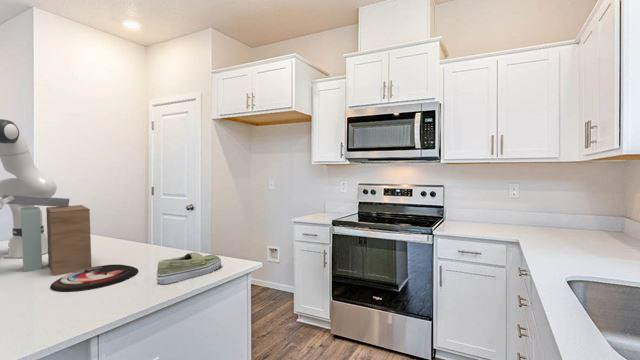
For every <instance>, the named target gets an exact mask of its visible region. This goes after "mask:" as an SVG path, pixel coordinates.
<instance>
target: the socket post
mask: <svg viewBox="0 0 640 360" xmlns="http://www.w3.org/2000/svg"><path fill="white" fill-rule="evenodd" d="M40 210H41V207H40V206H35V207H30V208H21V224H22V248H23V257H22V268H23V272H24V273H27V272H28V273H29V272H32V271H38V270H39V271H40V270H43V254H42V245H41V220H40Z"/></svg>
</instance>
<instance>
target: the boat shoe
mask: <svg viewBox="0 0 640 360" xmlns="http://www.w3.org/2000/svg"><path fill="white" fill-rule="evenodd" d="M221 266H222V259H221V257H220V256H218V255H217V254H209V255H202V254H200V252H195V251H193V252H188V253H186V254H185V255H183V256H179V257H172V258H166V259H161V260H159V261H158V262H157V269H156V282H157V284H160V285H169V284H174V283H177V282H182V281H185V280H187V279H191V278H195V277H200V276H204V275H206V274H207V275H208V274H210V273H212V272H214V271H216V270H217V269H219V268H220V267H221Z"/></svg>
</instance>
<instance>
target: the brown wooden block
mask: <svg viewBox="0 0 640 360" xmlns="http://www.w3.org/2000/svg"><path fill="white" fill-rule="evenodd" d="M45 207H46V212H45V213H46V236H47V239H48V253H47V257H48V258H47V260H48V261H47V262H48V267H49V269H50V271H51V274H52V276H60V275H67V274H70V273H72V272H75V271H78V270H82V269H86V268H91V267H92V242H91V241H92V240H91V239H92V238H91V214H90V213H91V212H90V211H91V210H90V208H89V207H86V206H84V205H83V204H79V205H78V204H77V205H69V206H68V207H56V206H45Z"/></svg>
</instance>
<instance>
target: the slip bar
mask: <svg viewBox="0 0 640 360" xmlns="http://www.w3.org/2000/svg"><path fill="white" fill-rule="evenodd" d="M9 196H13V197H14V199H13V200H11V201H9V202H8V203H6V204H5V205H8V204H18V205H34V206H36V207H42V206H43V207H68V206H70V198H67V197H66V198H64V197H53V196H52V197H37V196H22V195H7V194H4V195H3V198H1V199H4V198H7V197H9Z"/></svg>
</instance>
